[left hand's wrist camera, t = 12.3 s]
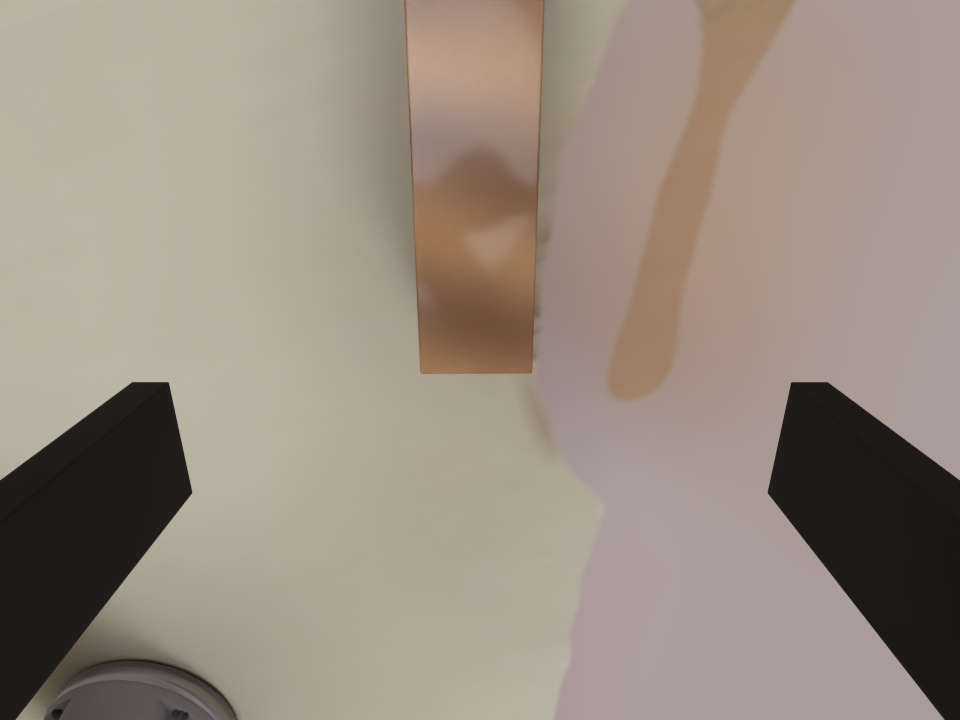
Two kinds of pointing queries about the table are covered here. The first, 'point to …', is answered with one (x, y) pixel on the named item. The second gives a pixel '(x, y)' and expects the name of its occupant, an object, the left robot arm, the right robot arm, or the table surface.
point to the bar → (475, 179)
